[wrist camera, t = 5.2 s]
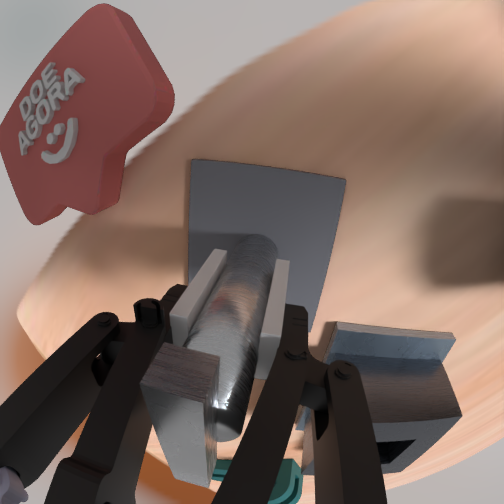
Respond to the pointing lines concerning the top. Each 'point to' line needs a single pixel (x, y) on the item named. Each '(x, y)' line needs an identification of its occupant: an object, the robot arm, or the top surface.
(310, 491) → the top surface
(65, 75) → the plaque
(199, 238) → the mat
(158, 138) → the top surface
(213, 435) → the silver grey long piece
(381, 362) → the hollow square block
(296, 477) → the bracket
